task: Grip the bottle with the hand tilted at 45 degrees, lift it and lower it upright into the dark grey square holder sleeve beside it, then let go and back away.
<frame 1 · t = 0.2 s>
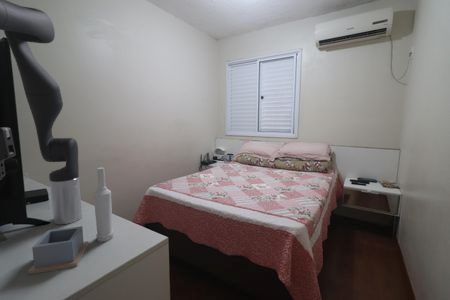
bottle: (105, 238, 73), on the dresser
holder sleeve: (61, 257, 62), on the dresser
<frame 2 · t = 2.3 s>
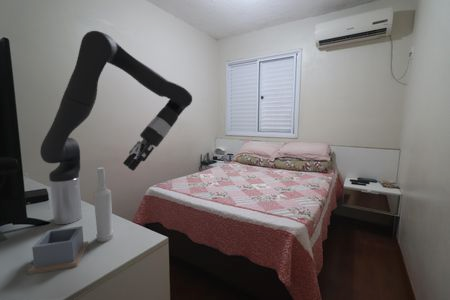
hand: (127, 167, 74), 24 cm above the dresser, tool tilted 40°, fingers open, 8 cm apart
nothing on the dresser moved.
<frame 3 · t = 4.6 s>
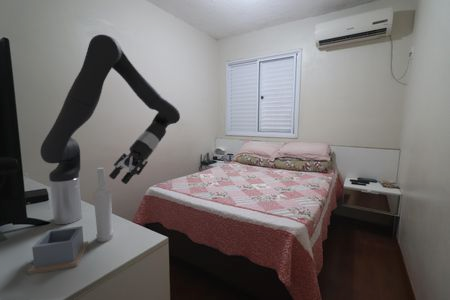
hand: (117, 180, 74), 20 cm above the dresser, tool tilted 45°, fingers open, 8 cm apart
nothing on the dresser moved.
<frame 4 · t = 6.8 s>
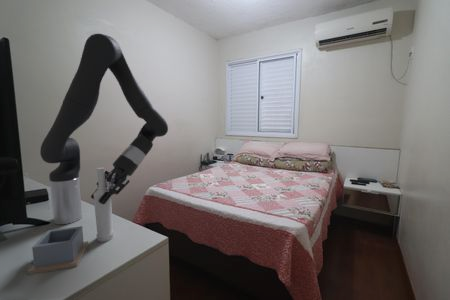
hand: (97, 200, 70), 14 cm above the dresser, tool tilted 45°, fingers closed on bottle, 5 cm apart
bottle: (105, 238, 73), on the dresser, touching gripper
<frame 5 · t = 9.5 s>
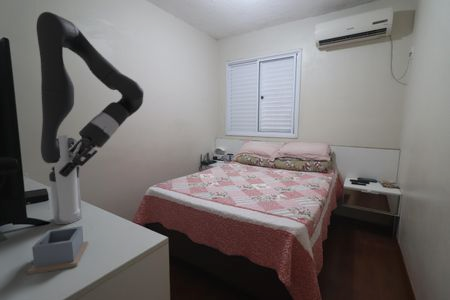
hand: (58, 173, 60), 26 cm above the dresser, tool tilted 45°, fingers closed on bottle, 5 cm apart
bottle: (70, 217, 63), point 11 cm above the dresser, touching gripper
when the fingers open (17 cm above the dresser, at t = 12.5 s): bottle drops 1 cm, resting on holder sleeve.
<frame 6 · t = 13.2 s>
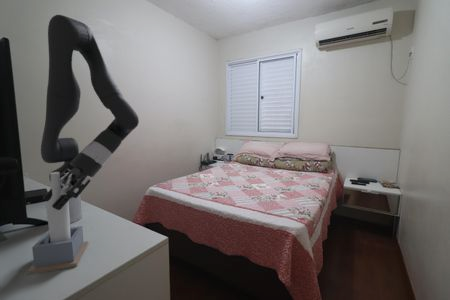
hand: (50, 204, 59), 17 cm above the dresser, tool tilted 45°, fingers open, 8 cm apart
bottle: (62, 254, 63), point 1 cm above the dresser, touching holder sleeve
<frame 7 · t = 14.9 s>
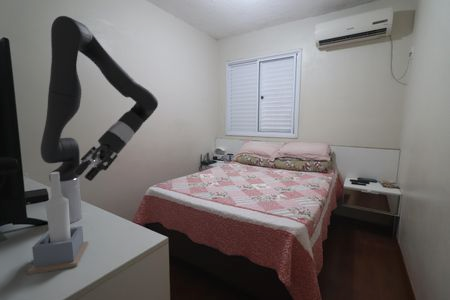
hand: (81, 176, 64), 24 cm above the dresser, tool tilted 45°, fingers open, 8 cm apart
nothing on the dresser moved.
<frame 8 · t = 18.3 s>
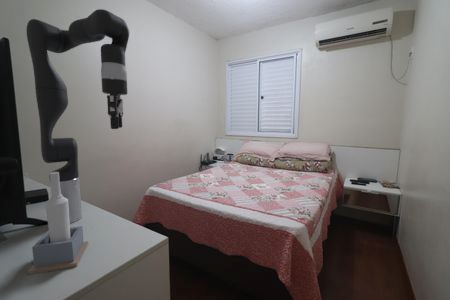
hand: (116, 128, 72), 38 cm above the dresser, tool pointing down, fingers open, 8 cm apart
nothing on the dresser moved.
at the end: bottle 0.2 cm off-centre on the holder sleeve, point 0.8 cm above the holder sleeve's base; bottle tilted 0°; the gripper is holding nothing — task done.
